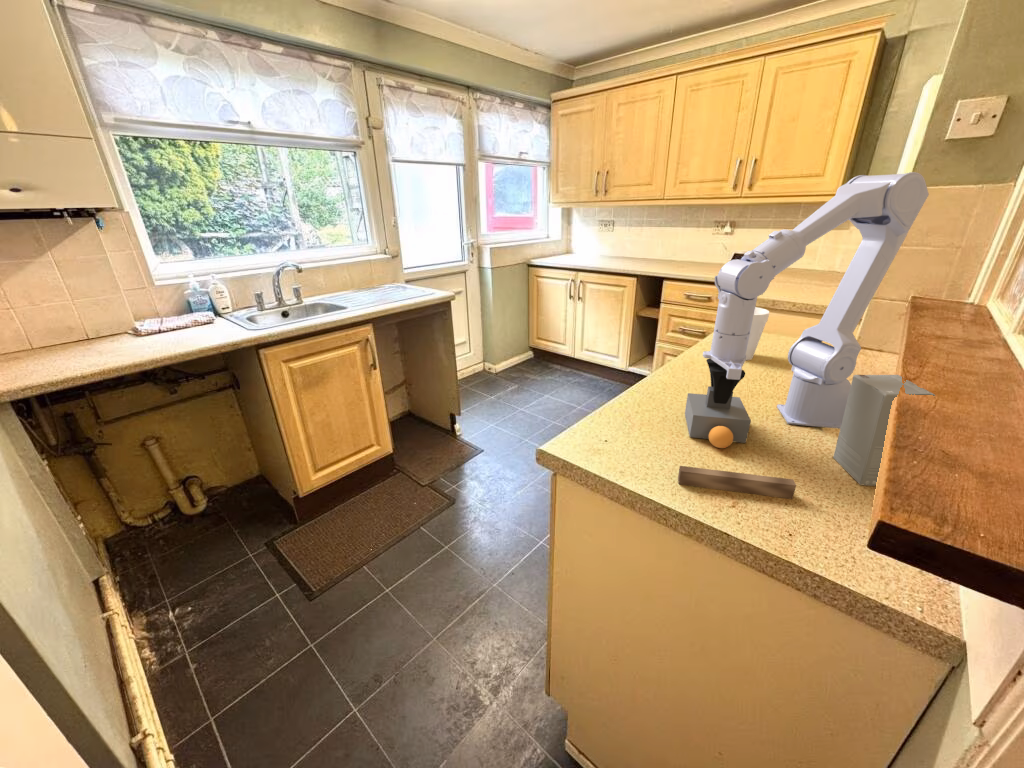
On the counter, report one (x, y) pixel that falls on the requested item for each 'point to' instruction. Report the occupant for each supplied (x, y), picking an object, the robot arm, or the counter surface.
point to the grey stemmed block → (716, 416)
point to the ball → (720, 437)
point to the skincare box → (868, 424)
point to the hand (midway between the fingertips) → (718, 399)
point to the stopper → (737, 482)
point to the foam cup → (756, 330)
